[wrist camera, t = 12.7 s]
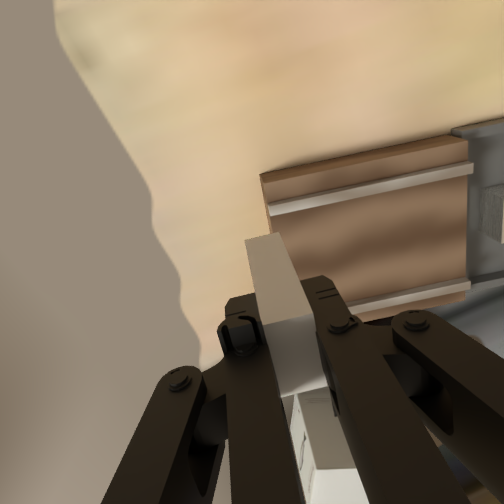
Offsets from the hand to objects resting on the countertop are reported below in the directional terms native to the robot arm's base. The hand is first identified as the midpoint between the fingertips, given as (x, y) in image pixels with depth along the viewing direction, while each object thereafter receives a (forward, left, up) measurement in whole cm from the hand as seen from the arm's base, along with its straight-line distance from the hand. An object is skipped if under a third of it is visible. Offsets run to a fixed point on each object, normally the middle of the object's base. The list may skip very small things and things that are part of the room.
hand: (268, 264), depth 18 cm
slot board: (+12, +12, -27) cm, 32 cm away
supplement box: (+36, +4, -27) cm, 45 cm away
